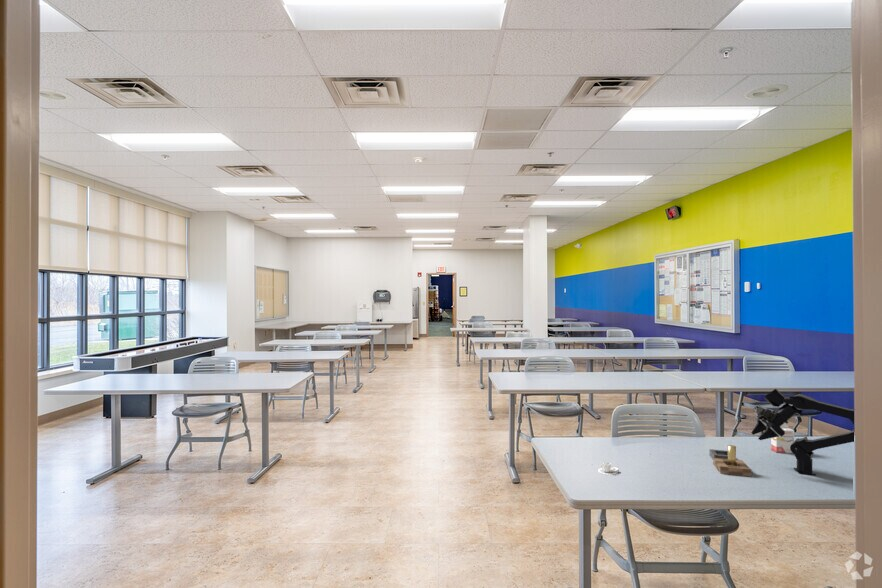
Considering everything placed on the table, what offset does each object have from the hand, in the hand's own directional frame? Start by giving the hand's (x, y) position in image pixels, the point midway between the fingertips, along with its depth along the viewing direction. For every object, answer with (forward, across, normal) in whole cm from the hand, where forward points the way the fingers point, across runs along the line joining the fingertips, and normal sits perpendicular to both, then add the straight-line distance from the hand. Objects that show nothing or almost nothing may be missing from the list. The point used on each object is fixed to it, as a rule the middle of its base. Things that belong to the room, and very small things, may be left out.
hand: (755, 436), depth 223 cm
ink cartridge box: (-5, -27, +24) cm, 37 cm away
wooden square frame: (+18, +10, +1) cm, 21 cm away
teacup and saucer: (+56, +31, -36) cm, 73 cm away
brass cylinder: (+18, +10, +1) cm, 21 cm away
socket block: (+18, -5, +1) cm, 19 cm away
